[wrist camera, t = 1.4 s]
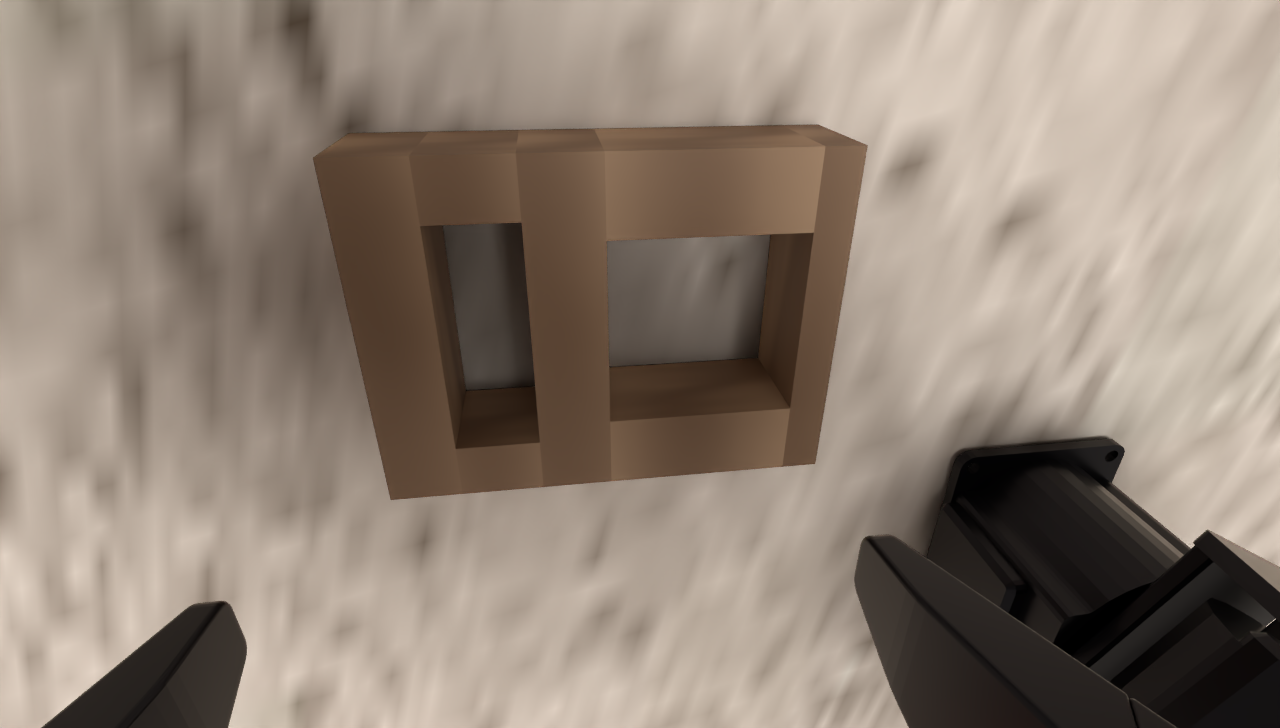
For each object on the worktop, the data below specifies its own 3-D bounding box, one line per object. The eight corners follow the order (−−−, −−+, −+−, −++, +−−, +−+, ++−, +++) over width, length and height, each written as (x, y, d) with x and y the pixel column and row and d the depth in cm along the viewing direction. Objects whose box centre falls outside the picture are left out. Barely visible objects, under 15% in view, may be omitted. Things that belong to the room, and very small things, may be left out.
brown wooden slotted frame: (817, 124, 18) (867, 145, 15) (781, 409, 22) (815, 463, 19) (348, 133, 16) (312, 158, 13) (409, 436, 20) (390, 500, 18)
